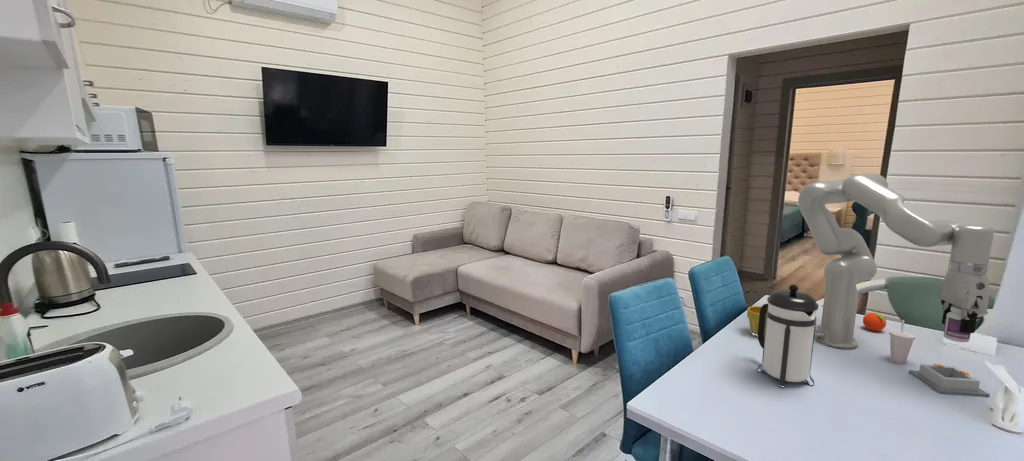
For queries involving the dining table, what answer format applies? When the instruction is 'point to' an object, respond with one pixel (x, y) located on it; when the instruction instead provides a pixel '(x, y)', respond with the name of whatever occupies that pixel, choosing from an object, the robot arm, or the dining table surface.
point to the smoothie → (900, 344)
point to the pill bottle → (955, 325)
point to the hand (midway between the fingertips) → (957, 327)
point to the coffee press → (788, 334)
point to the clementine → (874, 321)
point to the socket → (949, 380)
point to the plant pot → (754, 318)
